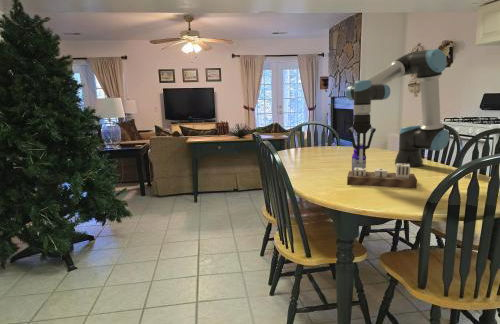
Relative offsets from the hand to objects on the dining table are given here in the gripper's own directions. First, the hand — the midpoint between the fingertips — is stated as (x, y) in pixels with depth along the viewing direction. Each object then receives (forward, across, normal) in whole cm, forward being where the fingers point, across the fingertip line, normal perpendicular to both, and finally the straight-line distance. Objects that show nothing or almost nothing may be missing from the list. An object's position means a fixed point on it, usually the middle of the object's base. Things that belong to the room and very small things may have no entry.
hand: (360, 162), depth 160 cm
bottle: (+10, -2, +16) cm, 19 cm away
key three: (+6, +19, 0) cm, 20 cm away
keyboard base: (+10, +9, 0) cm, 13 cm away
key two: (+9, 0, -1) cm, 9 cm away
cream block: (+9, +9, -1) cm, 13 cm away
